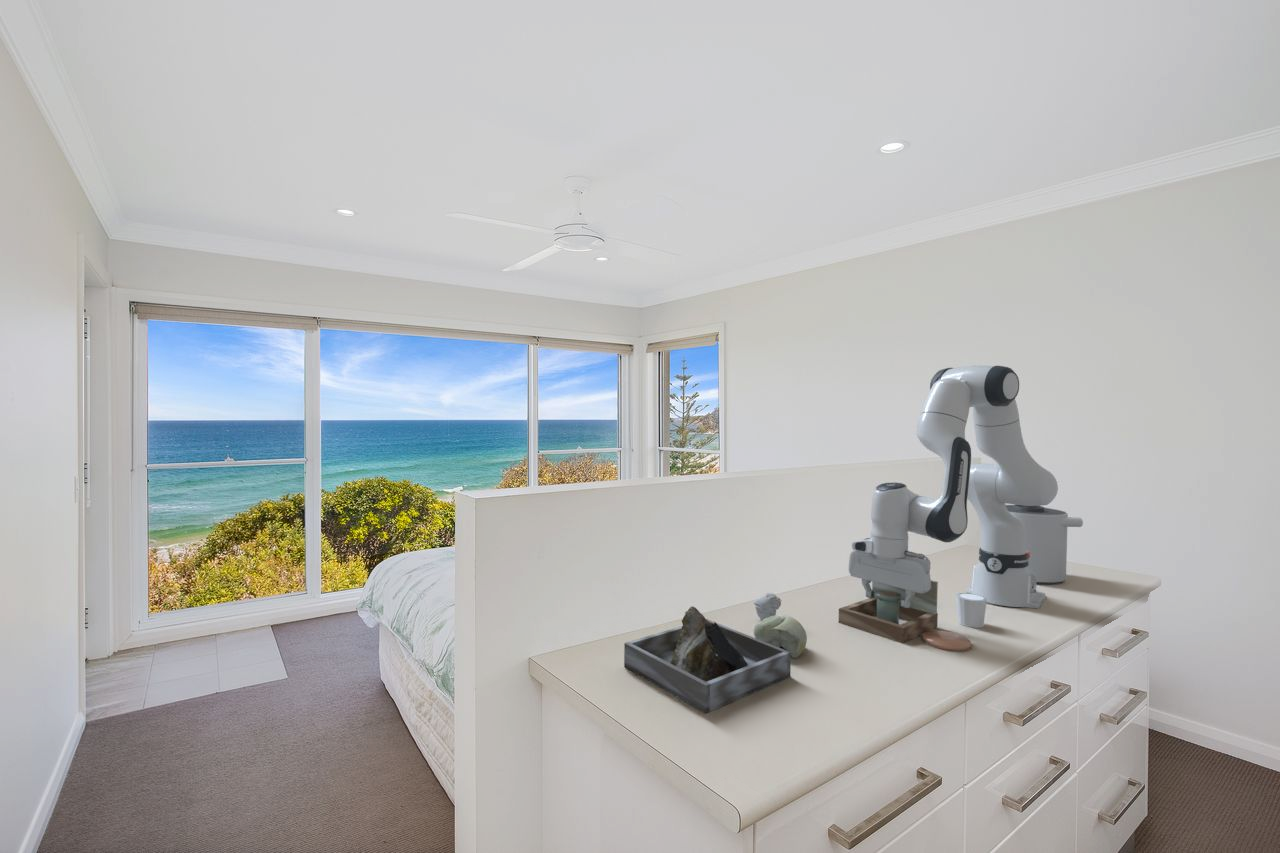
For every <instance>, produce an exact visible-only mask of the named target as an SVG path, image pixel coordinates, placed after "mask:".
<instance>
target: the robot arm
mask: <svg viewBox="0 0 1280 853" xmlns="http://www.w3.org/2000/svg"><path fill="white" fill-rule="evenodd" d="M1019 390H1020V380H1019V376H1018V374H1017V373H1016V371H1014V370H1013V369H1012V368H1011V367H1008V366H1003V365H993V366H991V365H970V366H961V367H946V368H943V369H940V370H938V371H937V372H936V373H935V374H934V375H933V377H932V378H931V380H930V385H929V391H928V393H927V396H926V398H925V400H924V403H923V405H922V408H921V411H920V414H919V418H918V421H917V424H916V436H917V438H918V441H919V442H920V443H921V445H922V446H924V447H925V448H926V449H927V450H929V451H930V452H932V453H933V454H936V455H937V456H939V457H940V458H941V459H942V461H943V463H944V464H943V465H944V473H943V481H942V482H943V483H942V489H941V495H940V497H939V498H932V497H928V496H924V495H920V494H917V493H915V492H913V491H912V490H910V489H909V488H908V487H907V485H906V484H905V483H902V482H895V481H894V482H884V483H880V484H879V485H877V486H875V488H874V491H873V494H872V499H871V511H870V517H871V518H870V519H871V524H872V525H871V529H870V530H871V531H870V537H866V538H863V539H858V540H854V541H852V542H851V549H852V551H851V552H850V554H849V559H848V573H849V575H850V576H851V577H853V578H857V579H861V584H862V587H863V589H864V591H865V597H866V598H874V590H872V586H871V583H872V581H873V582H877V583H881V584H885V585H889V586H893V587H897V588H901V589H905V590H906V594H908V595H907V597H906V598H905V599H902V600H901V603H902V604H901V607H905V608H909V607H910V600H911V599H912V598H913V596H914V595H915V592H917V593H921V594H922V593H926V592H928V591H929V590H930V589H931V574H930V571H931V561H930V559H929V558H928V557H927V556H926V555H925V554H923V553H917V552H913V551H909V532H910V533H914V534H917V535H921V536H925V537H928V538H929V537H930V538H931V539H935V540H937V541H940V542H943V543H952V542H954V541H955V540H958V539H959V538H960V537H961V536H963V534H964V533H965V531H967V528H968V523H969V522H968V521H969V520H968V518H969V517H968V501H969V502H970V503H971V505H972V506H973V508H974V510H975V511H976V515H977V516H978V519H979V524H980V526H979V527H980V547H979V549H978V550H979V551H978V561H979V562H978V563H977V564H975V565H974V566H973V573H972V583H971V587H968V588H966V593H971V594H977V595H980V596H983V597H985V598H986V599H987V603H988V604H992V605H999V606H1003V607H1010V608H1011V607H1012V608H1032V609H1039V608H1040V607H1041V606H1042V604H1043V602H1044V600H1045V599H1046V593H1045V592H1043V591H1040V590H1037V584H1036V576H1035V575H1034V574H1033V573H1032V571H1031V570H1030V569H1029V568H1028V565H1029V564H1028V559H1029V557H1030V552H1026V528H1025V526H1024V524H1023V523H1022V522H1021V521H1020V520H1019V519H1017V518H1016V517H1014V516H1012V515H1011V514H1010V513H1009V511H1008V510H1007V508H1006V505H1023V506H1047V505H1049V504H1050V503H1052V502H1053V500H1055V498H1056V497H1057V495H1058V490H1059V487H1058V486H1059V485H1058V481H1057V479H1056V477H1055V476H1054V474H1052V472H1051V471H1049V470H1047V469H1046V468H1044V467H1043V466H1042V465H1040V464H1039V463H1038V462H1037V461H1036V460H1035V459H1034V458H1033V457H1032V455H1031V454H1030V452H1029V451H1028V449H1027V447H1026V446H1025V442H1024V439H1023V434H1022V429H1021V428H1022V427H1021V422H1020V421H1021V420H1020V413H1019V409H1018V404H1017V401H1016V398H1017V396H1018V394H1019V392H1020V391H1019ZM970 408H972V417H973V426H974V434H975V440H976V441H975V442H976V446H977V448H978V450H979V451H980V452H981V453H982V454H984V455H986V456H987V457H989V458H991V459H992V460H993V461H994V462H996V463H995V464H994V463H982V462H981V463H973V464H972V448H971V444H970V443H969V441H967V440H966V426H967V422H968V417H969V413H970Z"/></svg>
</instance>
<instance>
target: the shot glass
mask: <svg viewBox="0 0 1280 853" xmlns="http://www.w3.org/2000/svg"><path fill="white" fill-rule="evenodd" d="M955 596H956V599H955V600H956V608H957V622H958V624H960V625H962V626H964V627H969V628H976V629H977V628H979V629H980V628H983V627H984V625H985V617H986V609H987V603H988V602H987V599H986V598H985V597H983V596H980V595H977V594H971V593H968V592H959V593H956V595H955Z"/></svg>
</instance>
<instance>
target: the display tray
mask: <svg viewBox="0 0 1280 853" xmlns="http://www.w3.org/2000/svg"><path fill="white" fill-rule="evenodd" d="M705 619H706V620H707V621H709V622H710V623H711V624H712V625H713V623H714V622H715V621H712V620H710V619H708V618H705ZM716 623H717V624H718V626H719V627H720V629H721V631H722V633H723V634H724V635H725V637H726V639H727V640H728V642H729V643H730V644H731V645H732V646H734V647H735V648H736V649H737V650H738V651H739V652H740V654H741V655H742V656H743V658H744V660H745V661H746V662H747V666H746V667H743V668H741V669H738V670H736V671H733V672H731V673H728V674H725V675H723V676H720V677H718V678H715V679H712V680H710V681H707V682H705V681H703V680H701V679H699V678H697V677H696V676H694V675H692V674H690V673H688V672H686V671H684V670H682V669H680V668H678V667H676V666H674V665H672V664H670V661H671V659H672V654H673V653H674V652H675V649H676V648H677V642H678V641H679V636H680V634H681V631H682V630H683V629H682V626H683V625H681V626H678V627H674V628H672V629H668V630H664V631H660V632H657V633H655V634H654V633H653V634H650V635H647V636H644V637H641V638H637V639H633V640H631V641H627V642H624V646H623V647H624V651H623V652H624V653H623V654H624V655H623V656H624V658H623V659H624V660H623V661H624V662H623V664H624V665H623V666H624V668H626V669H627V670H628V671H631V672H632V673H634V674H636V675H638V676H639V677H642V678H643V679H645V680H646V681H648V682H650V683H651V684H654V685H655V686H656V687H659V688H660V689H663V691H666V692H668V693H670V694H671V695H673V696H674V697H676V698H678V699H680V700H682V701H683V702H685V703H687V704H688V705H690V706H692V707H694V708H695V709H697V710H699V711H701V712H702V713H704V714H709V713H710V712H712V711H715V710H717V709H719V708H722V707H724V706H727V705H728V704H731V703H733V702H735V701H738V700H740V699H742V698H745V697H747V696H750V695H752V694H754V693H756V692H758V691H761V690H764V689H765V688H768V687H770V686H773V685H775V684H777V683H779V682H781V681H785V680H786V679H789V678H790V677H791V670H792V668H791V667H792V666H791V665H792V664H791V662H792V660H791V659H792V656H791V652H789V651H787V650H786V649H784V648H781V647H776V646H774V645H771V644H769V643H766V642H764V641H761V640H759V639H756V638H755V636H754V637H753V636H751V635H748V634H745V633H743V632H741V631H739V630H737V629H733V628H730V627H729V626H725V625H723V624H721V623H718V622H716ZM714 626H715V625H714Z"/></svg>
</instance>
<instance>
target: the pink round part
mask: <svg viewBox="0 0 1280 853" xmlns="http://www.w3.org/2000/svg"><path fill="white" fill-rule="evenodd" d="M922 641H923V642H924V643H925V644H927V645H929V646H930V647H933V648H935V649H940V650H944V651H948V652H949V651H951V652H966V651H968V650H970V649H971V648H972V647H971V646H972V642H971V640H970V639H969V638H968V637H966V636H964V635H961V634H958V633H956V632H951V631H947V630H946V631H945V630H938V629H937V630H934V629H932V630H930V631H926V632H924V633H923V634H922Z"/></svg>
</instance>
